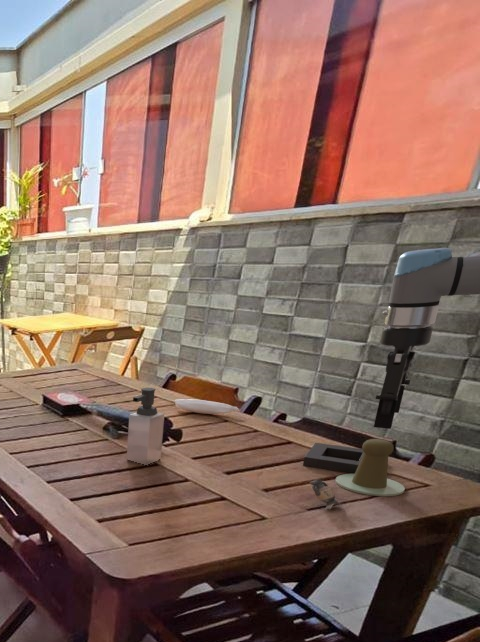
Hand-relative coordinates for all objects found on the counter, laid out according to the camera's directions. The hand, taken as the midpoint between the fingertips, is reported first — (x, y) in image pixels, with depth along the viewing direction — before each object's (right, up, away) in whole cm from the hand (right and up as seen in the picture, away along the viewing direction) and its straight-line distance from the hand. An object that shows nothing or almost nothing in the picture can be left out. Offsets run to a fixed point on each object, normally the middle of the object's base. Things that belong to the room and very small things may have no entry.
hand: (386, 419), depth 113 cm
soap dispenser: (-39, -11, +34) cm, 53 cm away
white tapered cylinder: (+23, +26, +106) cm, 112 cm away
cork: (+2, -15, +6) cm, 16 cm away
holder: (+7, -10, +19) cm, 22 cm away
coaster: (+2, -16, +6) cm, 17 cm away
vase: (-15, -20, 0) cm, 25 cm away
